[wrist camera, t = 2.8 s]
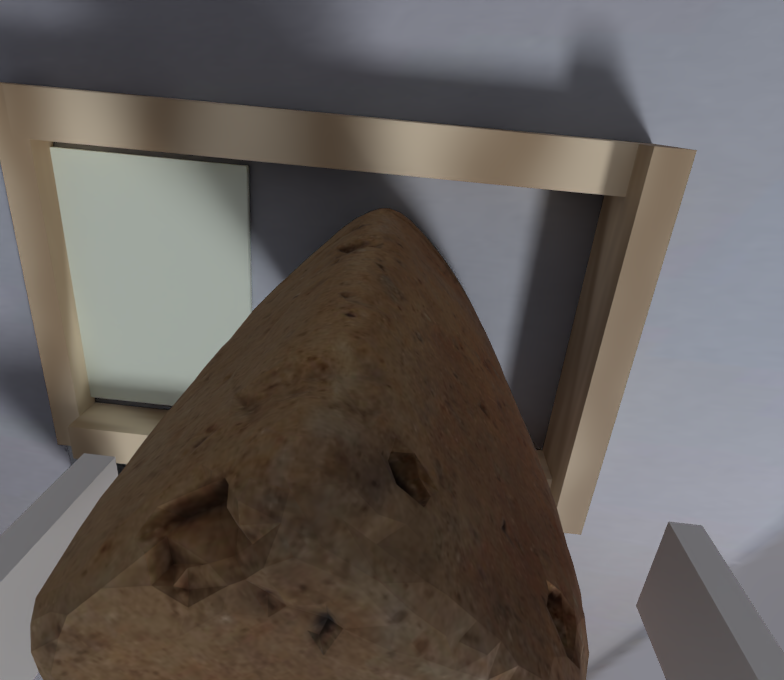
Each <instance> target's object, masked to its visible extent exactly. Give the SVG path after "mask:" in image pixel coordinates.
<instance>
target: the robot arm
mask: <svg viewBox="0 0 784 680" xmlns="http://www.w3.org/2000/svg"><path fill="white" fill-rule="evenodd" d="M117 476H118V471H117V465H116V458H115V457H113V456H104V455H96V454H87V453H84V454H83V455H82V456H81V457H80V458H79V459H78V460H77V461H76V462H75V463H74V464H73V465H72V466H71V467H70V468H69V469H67V470H66V471H65V472H64V473H63V474H62V475H61V476H60V477H59V478H58V479H57V480H56V481H55V482H54V483H53V484H52V485H51V486H50V487H49V488H48V489H47V490H46V491H45V492H44V493H43V494H42V495H41V496H40V497H39V498H38V499H37V500H36V501H35V502H34V503H33V504H32V505H31V506H30V507H29V508H28V509H27V510H26V511H25V512H24V513H23V514H22V515H21V516H20V517H19V518H18V519H17V520H16V521H15V522H14V523H13V524H12V525H11V526H10V527H9V528H8V529H7V530H6V531H5V532H4V533H3V534H2V535H1V536H0V680H33V679H34V678H35V676H36V675H37V674H38V672H39V671H38V668H37V666H36V663H35V661H34V659H33V656H32V654H31V638H30V623H31V618H32V613H33V608H34V604H35V599H36V597H37V595H38V593H39V592H40V590H41V589H42V587H43V585H44V584H45V582H46V581H47V579H48V577H49V576H50V574H51V573H52V571H53V570H54V568H55V566H56V565H57V563H58V562H59V560H60V558H61V557H62V555H63V554H64V552H65V550H66V549H67V547H68V546H69V544H70V542H71V541H72V539H73V538H74V536H75V534H76V533H77V531H78V530H79V528H80V527H81V525H82V524H83V522H84V521H85V520H86V518H87V517H88V515H89V514H90V512H91V511H92V509H93V508H94V506H95V505H96V503H97V502H98V500H99V499H100V498H101V496H102V495H103V494H104V493H105V491H106V490H107V489H108V488H109V486H110V485H111V484H112V483H113V481H114V480H115V479H116V478H117ZM636 607H637V609H638V611H639V614H640V616H641V619H642V621H643V624H644V626H645V629H646V631H647V634H648V636H649V638H650V641H651V643H652V646H653V648H654V651H655V653H656V656H657V658H658V661H659V663H660V665H661V668H662V670H663V673H664V675H665V678H666V680H784V652H783V651H782V649H781V648H780V646H779V645H778V643H777V641H776V640H775V638H774V637H773V635H772V634H771V632H770V630H769V629H768V627H767V626H766V624H765V623H764V621H763V620H762V618H761V616H760V615H759V613H758V612H757V610H756V609H755V607H754V606H753V604H752V603H751V601H750V600H749V598H748V596H747V595H746V593H745V592H744V590H743V588H742V587H741V585H740V584H739V582H738V581H737V579H736V578H735V576H734V574H733V573H732V571H731V570H730V568H729V567H728V565H727V564H726V562H725V560H724V559H723V557H722V556H721V554H720V553H719V551H718V550H717V548H716V546H715V545H714V543H713V542H712V540H711V539H710V537H709V536H708V534H707V532H706V531H705V529H704V528H703V526H701V525H693V524H684V523H676V522H668V525H667V527H666V530H665V532H664V535H663V538H662V540H661V543H660V545H659V548H658V550H657V553H656V556H655V558H654V561H653V563H652V566H651V569H650V571H649V574H648V576H647V579H646V581H645V584H644V587H643V589H642V592H641V594H640V597H639V600H638V602H637V605H636Z"/></svg>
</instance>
